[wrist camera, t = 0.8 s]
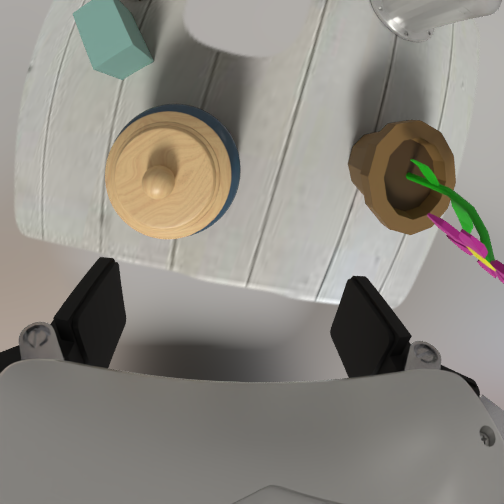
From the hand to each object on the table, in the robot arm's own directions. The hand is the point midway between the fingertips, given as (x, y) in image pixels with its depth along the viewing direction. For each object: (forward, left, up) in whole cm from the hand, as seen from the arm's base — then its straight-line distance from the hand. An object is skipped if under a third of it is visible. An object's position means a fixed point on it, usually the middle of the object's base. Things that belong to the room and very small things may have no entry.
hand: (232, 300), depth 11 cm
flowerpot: (-21, +6, -28) cm, 36 cm away
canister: (+4, -5, -28) cm, 29 cm away
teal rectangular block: (+5, -25, -28) cm, 38 cm away
